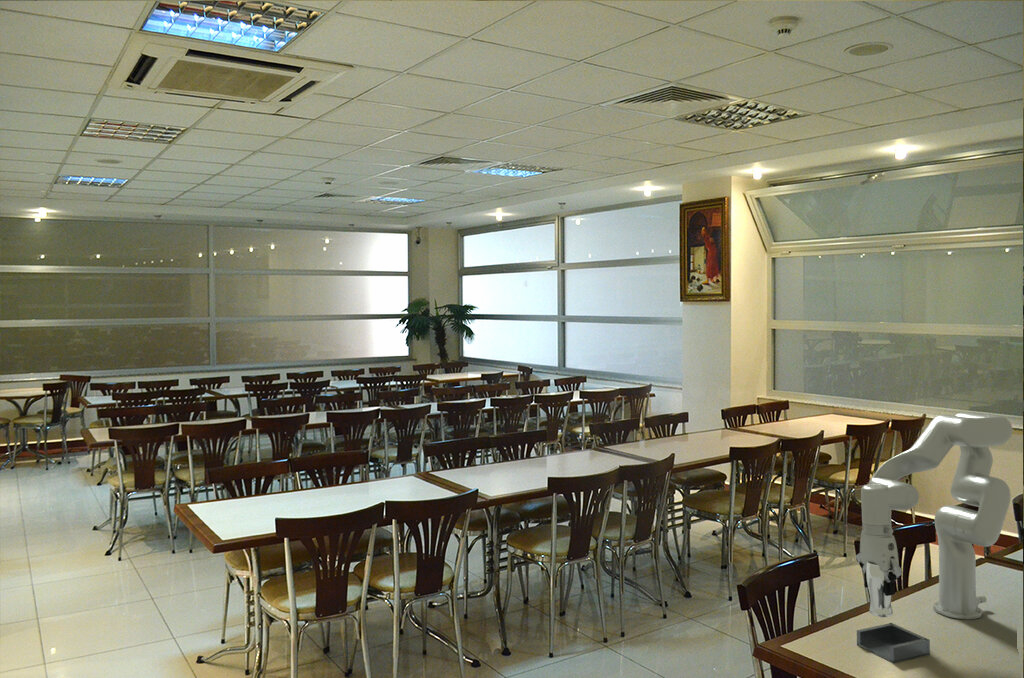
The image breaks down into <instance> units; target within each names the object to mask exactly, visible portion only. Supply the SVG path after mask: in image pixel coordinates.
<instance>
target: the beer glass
mask: <svg viewBox="0 0 1024 678" xmlns="http://www.w3.org/2000/svg"><path fill="white" fill-rule="evenodd" d="M889 570H890V567H889ZM888 575H889V576H891V572H888ZM866 578H867V584H868V591H869V592H868V593H869V597H870V599H869V600H870V606H869V614H870V615H873V616H874V617H878V618H891V617H892V616H893V615H894V611H893V607H892V595H890V596H886V595H885V589H884V582H885V581H886V579H885V577H884V573H883V571H881V570H880V568H879V565H875V564H871V563H869V562H868V561H867V564H866Z"/></svg>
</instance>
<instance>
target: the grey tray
mask: <svg viewBox="0 0 1024 678" xmlns="http://www.w3.org/2000/svg"><path fill="white" fill-rule="evenodd" d="M856 645H857V646H858V647H860V648H862V649H864V650H867V651H868V652H871V653H872V654H875V655H876V656H878V657H881V658H883V659H884V660H886V661H888V662H890V663H892V664H897V663H901V662H905V661H909V660H914V659H918V658H923V657H927V656H930V655H931V650H930V649H931V646H930V645H931V642H930V639H928V638H926V637H925V636H922V635H920V634H917V633H915V632H914V631H911V630H909V629H906V628H904V627H902V626H900V625H897V624H895V623H893V622H890V623H886V624H884V623H883V624H880V625H876V626H871V627H866V628H862V629H857V630H856Z"/></svg>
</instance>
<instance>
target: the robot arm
mask: <svg viewBox="0 0 1024 678" xmlns="http://www.w3.org/2000/svg"><path fill="white" fill-rule="evenodd" d="M1013 431H1014V430H1013V426H1012V424H1011V422H1010V420H1009V419H1007V418H1006V417H1004V416H1002V415H996V414H995V415H994V414H987V413H980V412H979V413H978V412H972V411H971V412H970V411H968V412H967V411H963V412H957V413H956V414H954V415H952V414H939V415H937V416H935V417H934V418H933V419H931V421H930V422H929V424H928V425H927V426H926V427H925V429H924V430H923V432H922V433H921V434H920V435H919V437H918V438H917V439H916V441H914V443H913V445H911V447H910V448H908V449H907V450H905V451H903V452H901V453H899V454H897V455H895V456H894V457H891V458H889V459H888V460H886V461H885V462H884V463H882V464H881V465H880V466H879V467H878V469H877V470H876V471H875V472H874V473H873V475H872V476H871V478H870V480H869V481H868V484H865V485H863V486H861V489H860V502H861V522H862V523H861V524H862V525H861V526H862V530H861V533H860V543H859V553H858V554H856V555H855V559H856V560H857V562H858V564H859V567H860V568H861V572H862V573H863V577H864V578H863V585H864V586H863V587H864V588H868V584H867V578H866V564H867V561H868V562H869V563H871V564H875V565H879V568H880V570H881V571H883V573H884V577H885V579H886V581H885V582H884V589H885V595H886V596H890V595H891V596H892V595H896V584H895V583H896V581H897V580H898V579H899V578H900V576H901V575H902V574H903V573H904V571H903V569H902V568H901V567H900V565H899V564H900V563H899V552H898V547H897V541H896V538H895V535H893V533H894V530H893V529H892V511H895V510H897V511H899V510H900V511H901V510H902V511H904V510H910V509H912V508H914V507H916V505H917V504H918V503H919V500H920V494H919V491H918V489H917V488H916V487H914V485H912V484H910V483H906V482H902V481H899V480H900V479H902V478H904V477H906V476H909V475H911V474H916V473H922V472H927V471H930V470H934V469H937V467H938V466H939V465H940V464H941V462H942V461H943V460H944V458H945V457H946V456H947V454H948V453H949V452H950V450H951V449H952V448H953V447H954V446H959V449H960V456H959V459H958V464H957V466H956V469H955V472H954V476H953V479H952V481H951V485H950V494H951V497H952V498H953V499H954V500H955V501H957V502H959V503H963V504H965V505H969V506H973V507H978V510H974V509H971V508H968V507H967V508H966V507H962V506H958V505H951V504H949V505H944V506H941V507H940V508H939V509H937V511H936V513H935V514H934V527H935V531H936V536H937V541H938V584H939V585H938V588H939V589H938V593H939V594H938V595H939V597H938V599H939V600H938V601H936V602H934V603H933V610H934V611H935V612H936V613H938V614H940V615H942V616H945V617H947V618H948V617H949V618H954V619H959V620H975V619H979V618H981V617H982V616H983V610H982V609H981V608H979V605H980V604H984V603H986V602H987V597H986V596H984V595H980V596H977V591H976V590H977V589H976V588H977V587H976V585H977V581H976V578H977V577H976V572H977V571H976V570H977V568H976V567H977V566H976V565H977V563H976V560H977V559H976V552H975V549H974V546H973V545H975V546H980V547H986V548H987V547H988V548H989V547H991V546H993V545H994V544H995V543H996V542H997V541H998V539H999V538H1000V535H1001V532H1002V529H1003V526H1004V524H1005V520H1006V517H1007V512H1008V511H1009V507H1010V503H1011V496H1012V495H1011V490H1010V486H1009V484H1007V482H1005V480H1003V479H1000V478H998V477H995V476H991V470H992V468H993V467H992V466H993V463H994V462H993V461H994V459H993V455H992V454H993V453H992V452H991V450H990V448H989V447H993V446H994V447H996V446H1002V445H1004V444H1006V443H1007V442H1009V440H1011V438H1012V435H1013ZM889 567H890V570H889ZM888 572H891V576H889V575H888Z"/></svg>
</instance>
